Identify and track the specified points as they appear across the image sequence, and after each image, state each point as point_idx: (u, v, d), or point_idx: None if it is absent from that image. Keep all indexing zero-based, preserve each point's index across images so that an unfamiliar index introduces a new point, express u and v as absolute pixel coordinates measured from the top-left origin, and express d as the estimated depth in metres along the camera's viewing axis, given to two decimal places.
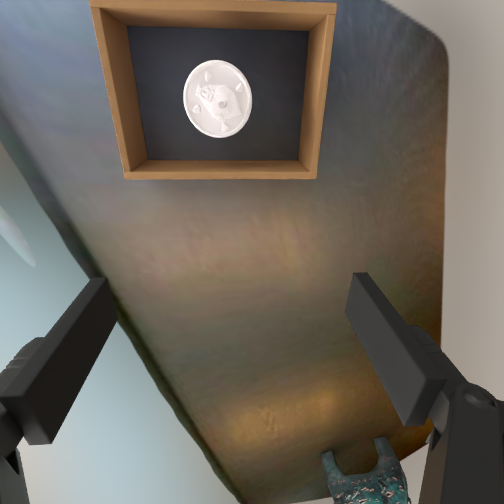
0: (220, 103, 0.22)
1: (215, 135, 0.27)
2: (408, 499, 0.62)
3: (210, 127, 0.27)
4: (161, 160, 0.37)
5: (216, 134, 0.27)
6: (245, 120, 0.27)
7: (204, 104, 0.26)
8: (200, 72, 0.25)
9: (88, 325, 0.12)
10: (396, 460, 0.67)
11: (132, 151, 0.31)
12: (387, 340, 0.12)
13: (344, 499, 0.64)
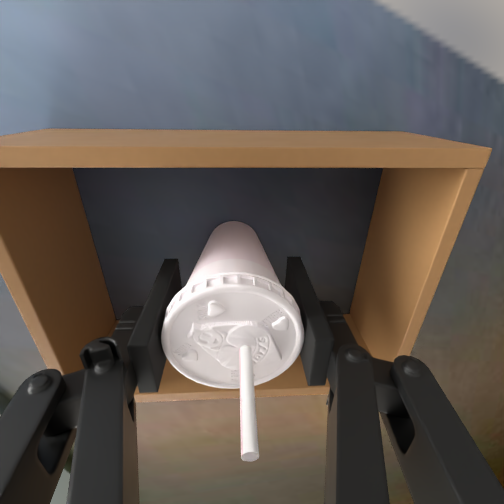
0: (247, 451, 0.09)
1: (227, 387, 0.14)
2: None
3: (216, 373, 0.14)
4: None
5: (229, 386, 0.14)
6: (287, 365, 0.13)
7: (206, 350, 0.12)
8: (196, 304, 0.11)
9: (170, 297, 0.14)
10: None
11: None
12: (301, 313, 0.13)
13: None
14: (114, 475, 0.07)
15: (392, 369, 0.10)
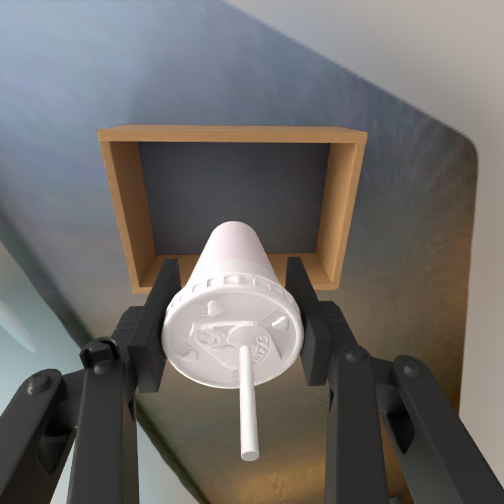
0: (247, 451, 0.09)
1: (227, 387, 0.14)
2: None
3: (216, 373, 0.14)
4: (171, 256, 0.35)
5: (229, 385, 0.14)
6: (287, 365, 0.13)
7: (206, 350, 0.12)
8: (197, 304, 0.11)
9: (170, 297, 0.14)
10: None
11: (141, 263, 0.29)
12: (301, 313, 0.13)
13: None
14: (114, 475, 0.07)
15: (392, 369, 0.10)
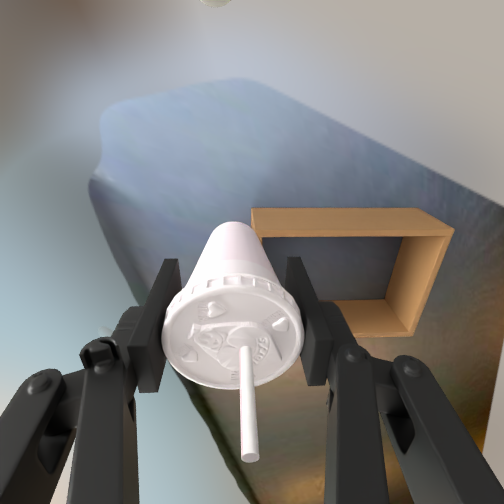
0: (247, 452, 0.09)
1: (227, 388, 0.14)
2: None
3: (216, 374, 0.14)
4: None
5: (229, 386, 0.14)
6: (287, 365, 0.13)
7: (206, 351, 0.12)
8: (197, 305, 0.11)
9: (170, 297, 0.14)
10: None
11: None
12: (301, 313, 0.13)
13: None
14: (114, 476, 0.07)
15: (392, 369, 0.10)
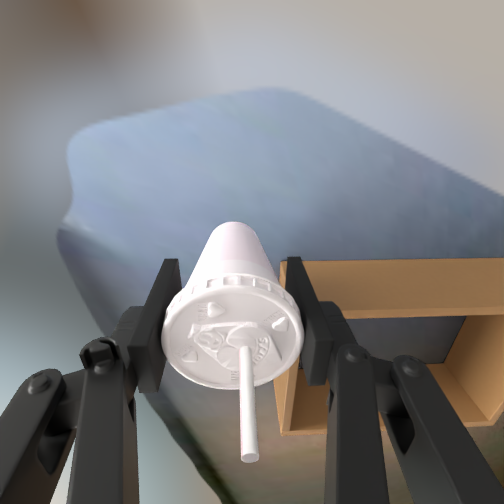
0: (247, 453, 0.09)
1: (227, 388, 0.14)
2: None
3: (216, 374, 0.14)
4: None
5: (229, 386, 0.14)
6: (287, 366, 0.13)
7: (206, 351, 0.12)
8: (196, 305, 0.11)
9: (170, 297, 0.14)
10: None
11: None
12: (301, 313, 0.13)
13: None
14: (114, 476, 0.07)
15: (392, 369, 0.10)
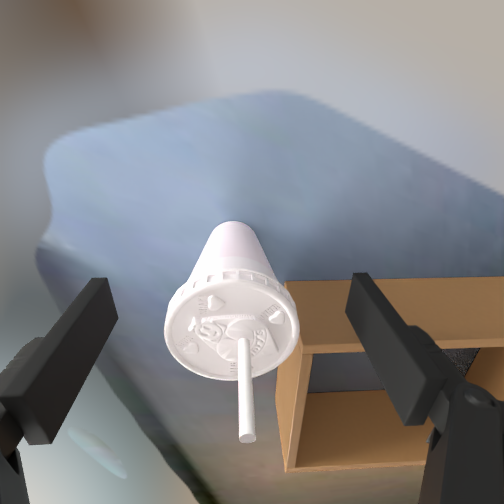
0: (245, 434, 0.09)
1: (226, 379, 0.14)
2: None
3: (216, 365, 0.14)
4: None
5: (228, 377, 0.14)
6: (284, 357, 0.14)
7: (206, 343, 0.13)
8: (198, 298, 0.12)
9: (88, 325, 0.12)
10: None
11: None
12: (387, 340, 0.12)
13: None
14: None
15: None
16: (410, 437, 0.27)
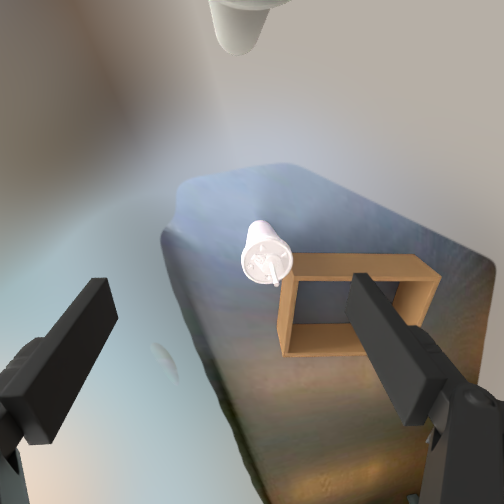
0: (275, 283, 0.31)
1: (263, 283, 0.35)
2: None
3: (259, 277, 0.35)
4: (291, 325, 0.51)
5: (263, 282, 0.35)
6: (286, 273, 0.35)
7: (257, 265, 0.34)
8: (256, 246, 0.33)
9: (88, 325, 0.12)
10: None
11: None
12: (387, 340, 0.12)
13: None
14: None
15: None
16: (352, 343, 0.48)
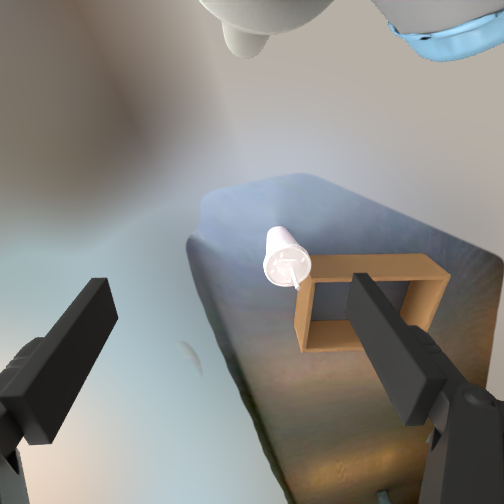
0: (297, 287, 0.34)
1: (283, 285, 0.39)
2: None
3: (280, 280, 0.39)
4: None
5: (284, 285, 0.39)
6: (305, 277, 0.38)
7: (278, 269, 0.37)
8: (278, 253, 0.36)
9: (88, 325, 0.12)
10: None
11: None
12: (387, 340, 0.12)
13: None
14: None
15: None
16: None
